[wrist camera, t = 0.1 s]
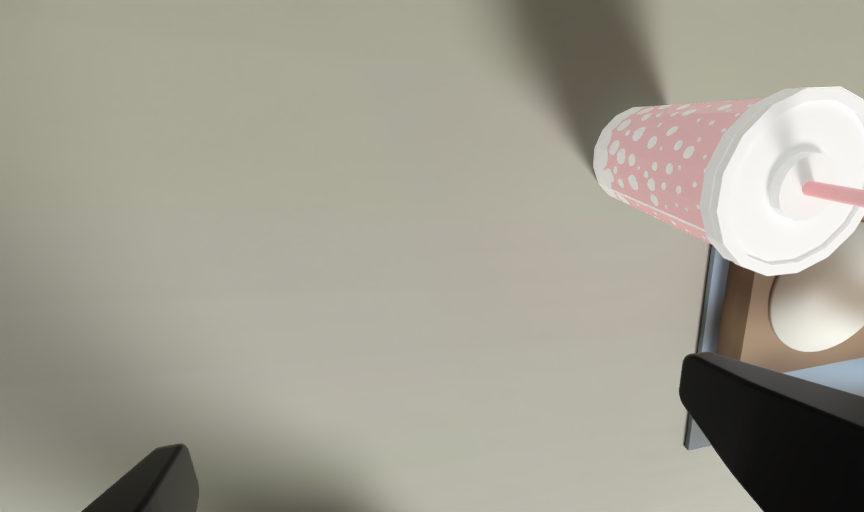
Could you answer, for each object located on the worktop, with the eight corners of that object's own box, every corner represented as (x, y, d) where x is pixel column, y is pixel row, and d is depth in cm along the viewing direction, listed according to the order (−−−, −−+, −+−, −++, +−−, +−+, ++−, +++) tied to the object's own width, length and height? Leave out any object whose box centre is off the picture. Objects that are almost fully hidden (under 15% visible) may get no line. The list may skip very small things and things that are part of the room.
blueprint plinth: (866, 408, 33) (901, 428, 31) (685, 447, 31) (710, 472, 29) (930, 177, 28) (978, 183, 26) (717, 203, 25) (751, 212, 23)
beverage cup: (708, 167, 25) (1132, 246, 12) (612, 238, 25) (922, 395, 12) (661, 62, 22) (1122, 13, 9) (556, 141, 23) (862, 203, 10)
